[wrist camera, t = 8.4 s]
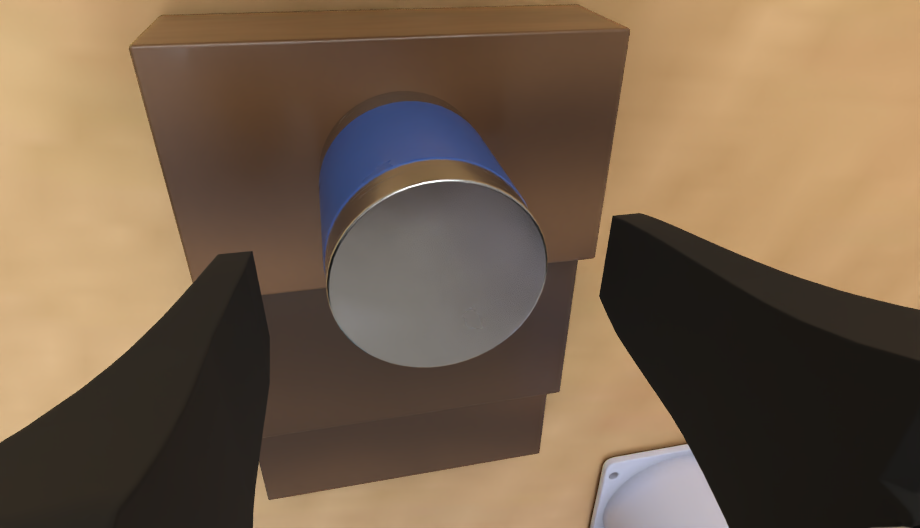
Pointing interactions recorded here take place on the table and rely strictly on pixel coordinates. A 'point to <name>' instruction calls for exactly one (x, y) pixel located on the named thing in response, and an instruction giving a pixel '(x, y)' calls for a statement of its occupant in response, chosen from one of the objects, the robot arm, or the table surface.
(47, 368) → the table surface
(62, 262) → the table surface
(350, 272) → the can
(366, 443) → the step shelf
